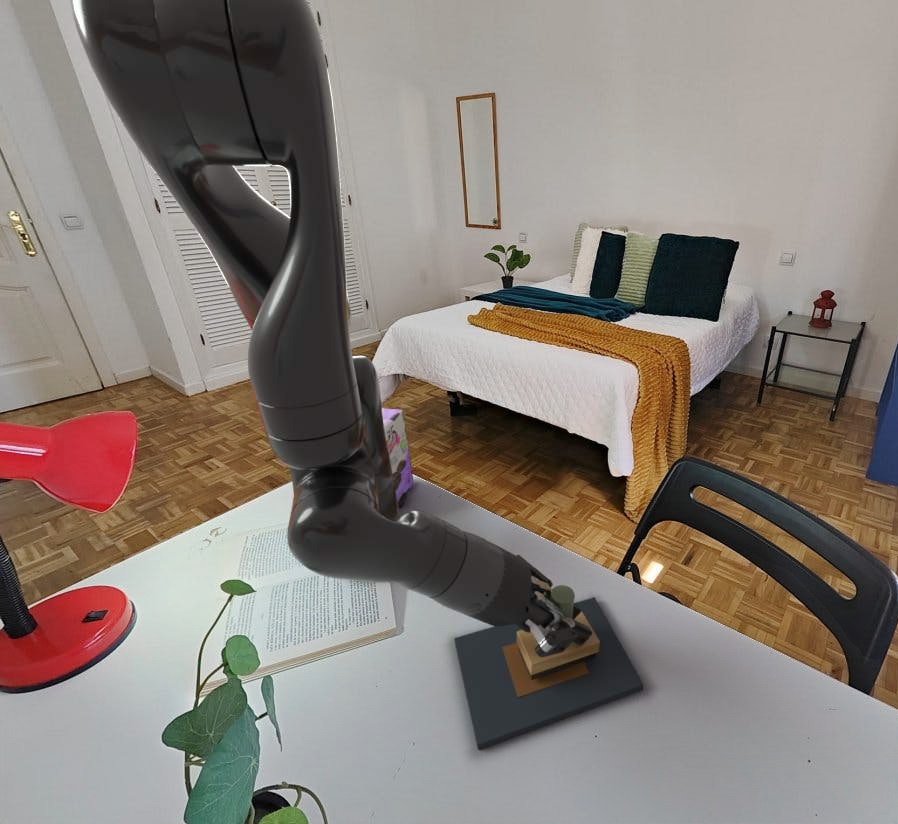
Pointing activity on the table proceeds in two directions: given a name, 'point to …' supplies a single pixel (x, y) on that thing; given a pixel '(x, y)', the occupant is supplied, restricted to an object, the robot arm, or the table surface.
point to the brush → (571, 654)
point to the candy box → (398, 450)
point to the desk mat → (538, 680)
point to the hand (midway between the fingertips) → (580, 624)
